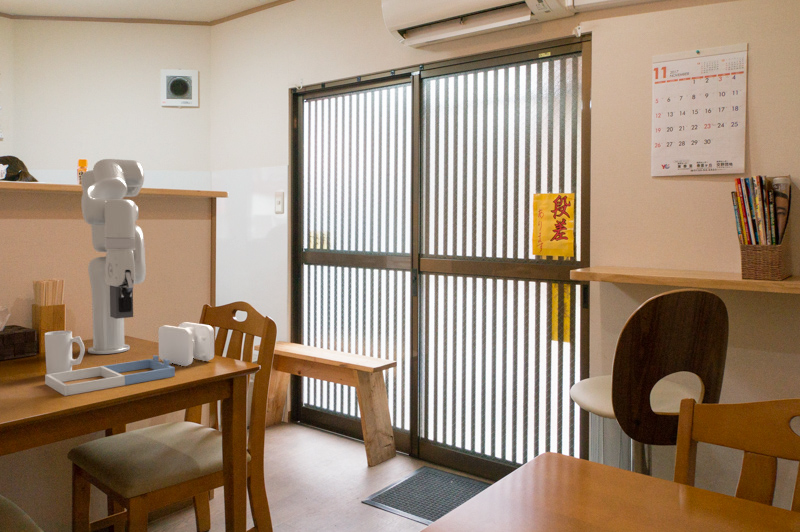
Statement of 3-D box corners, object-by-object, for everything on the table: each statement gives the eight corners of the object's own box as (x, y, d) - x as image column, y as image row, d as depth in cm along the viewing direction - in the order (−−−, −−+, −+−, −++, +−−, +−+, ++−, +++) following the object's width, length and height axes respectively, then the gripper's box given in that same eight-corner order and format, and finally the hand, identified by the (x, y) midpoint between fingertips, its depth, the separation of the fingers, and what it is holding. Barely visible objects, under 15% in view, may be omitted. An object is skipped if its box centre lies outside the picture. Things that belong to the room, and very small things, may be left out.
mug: (41, 378, 169) (40, 335, 168) (51, 372, 176) (49, 331, 175) (81, 376, 171) (80, 334, 170) (88, 371, 178) (87, 330, 177)
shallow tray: (45, 383, 163) (45, 368, 163) (151, 366, 183) (150, 353, 183) (64, 395, 152) (64, 379, 152) (174, 376, 173) (174, 361, 172)
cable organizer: (156, 362, 190) (155, 325, 189) (184, 356, 199) (184, 320, 198) (188, 368, 182) (187, 329, 181) (216, 362, 191) (216, 325, 190)
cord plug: (110, 316, 169) (109, 273, 168) (127, 315, 172) (126, 272, 171) (116, 318, 166) (115, 274, 165) (133, 317, 169) (132, 273, 168)
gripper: (95, 243, 171) (96, 308, 172) (117, 246, 159) (118, 315, 160) (123, 243, 176) (124, 306, 178) (146, 245, 164) (147, 313, 165)
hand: (121, 310), depth 169 cm, fingers closed on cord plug, 4 cm apart
